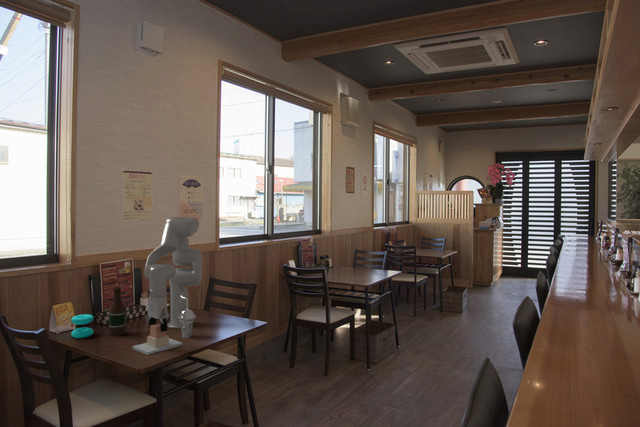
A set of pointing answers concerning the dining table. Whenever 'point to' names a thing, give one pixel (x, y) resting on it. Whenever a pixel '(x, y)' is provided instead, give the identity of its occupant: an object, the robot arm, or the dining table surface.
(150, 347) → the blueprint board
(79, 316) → the turquoise yo-yo
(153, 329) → the terracotta block
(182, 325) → the cup with straw
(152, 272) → the robot arm
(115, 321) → the beer bottle
